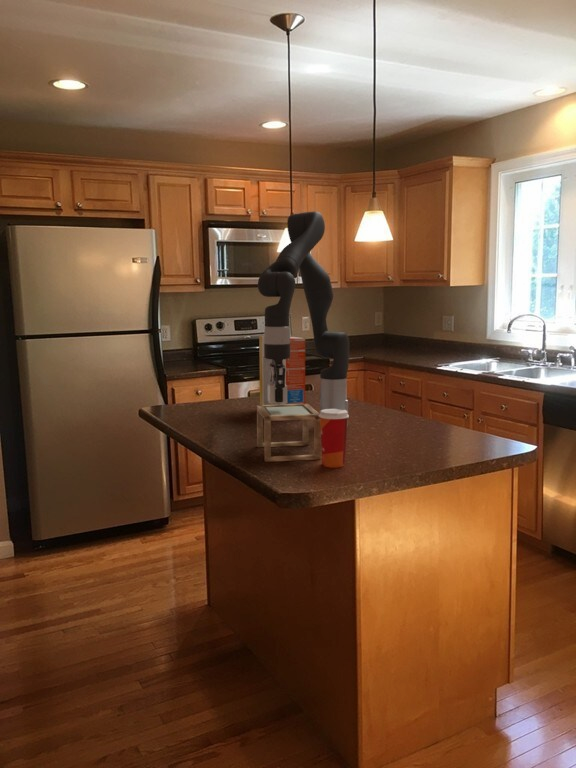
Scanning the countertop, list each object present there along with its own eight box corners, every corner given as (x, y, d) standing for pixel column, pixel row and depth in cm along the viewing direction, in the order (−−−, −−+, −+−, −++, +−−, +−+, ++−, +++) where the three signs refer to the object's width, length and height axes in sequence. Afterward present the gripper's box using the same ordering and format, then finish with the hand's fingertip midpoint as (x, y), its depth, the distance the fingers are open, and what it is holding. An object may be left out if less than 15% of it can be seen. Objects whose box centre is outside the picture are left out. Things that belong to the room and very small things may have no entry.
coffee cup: (330, 459, 183) (330, 407, 181) (354, 464, 178) (355, 410, 176) (312, 465, 177) (312, 411, 174) (336, 470, 171) (337, 415, 169)
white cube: (284, 400, 191) (284, 383, 191) (287, 403, 187) (287, 386, 186) (267, 400, 191) (267, 384, 190) (270, 403, 186) (269, 386, 185)
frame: (307, 444, 202) (307, 403, 200) (320, 459, 183) (320, 414, 181) (257, 446, 199) (256, 405, 197) (265, 461, 181) (264, 416, 179)
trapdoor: (302, 409, 198) (302, 405, 198) (312, 418, 183) (312, 414, 183) (265, 410, 196) (265, 407, 196) (272, 419, 181) (272, 416, 181)
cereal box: (305, 418, 244) (305, 338, 240) (286, 420, 240) (285, 339, 236) (277, 408, 264) (277, 334, 260) (259, 410, 260) (259, 335, 256)
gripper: (294, 344, 180) (294, 404, 182) (285, 340, 194) (286, 396, 196) (267, 344, 179) (268, 405, 181) (261, 340, 193) (261, 396, 195)
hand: (277, 400), depth 189 cm, fingers closed on white cube, 5 cm apart
